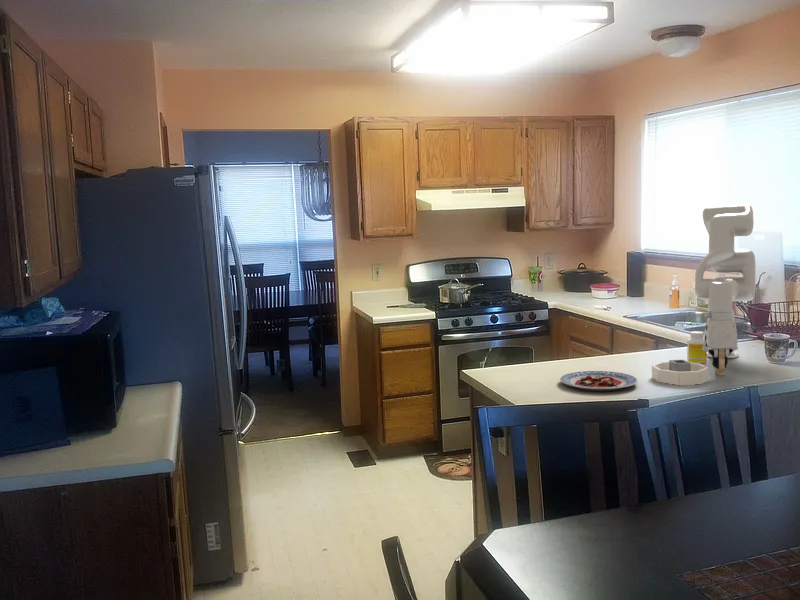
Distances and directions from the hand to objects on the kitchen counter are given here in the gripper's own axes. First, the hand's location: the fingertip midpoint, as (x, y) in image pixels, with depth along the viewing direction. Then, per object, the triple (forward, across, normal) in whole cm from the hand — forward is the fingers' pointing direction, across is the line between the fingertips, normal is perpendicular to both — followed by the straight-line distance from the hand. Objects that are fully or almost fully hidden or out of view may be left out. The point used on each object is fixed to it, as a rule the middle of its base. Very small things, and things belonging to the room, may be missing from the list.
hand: (719, 367), depth 239 cm
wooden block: (+3, 0, 0) cm, 3 cm away
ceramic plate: (+3, -45, -8) cm, 46 cm away
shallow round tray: (+3, -16, -5) cm, 17 cm away
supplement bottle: (+3, -2, +15) cm, 15 cm away
